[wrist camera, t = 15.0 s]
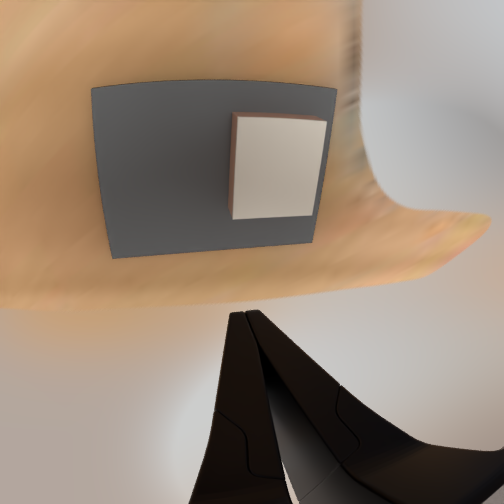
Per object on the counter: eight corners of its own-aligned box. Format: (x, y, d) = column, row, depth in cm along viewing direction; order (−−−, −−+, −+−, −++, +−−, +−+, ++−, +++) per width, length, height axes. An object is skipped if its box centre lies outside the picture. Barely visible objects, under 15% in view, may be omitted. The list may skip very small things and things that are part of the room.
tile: (232, 219, 19) (312, 215, 20) (238, 117, 15) (326, 121, 17) (227, 207, 20) (302, 203, 21) (232, 111, 17) (315, 115, 18)
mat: (113, 255, 20) (112, 258, 20) (92, 88, 14) (91, 88, 14) (309, 239, 24) (311, 242, 23) (334, 88, 17) (337, 89, 17)
